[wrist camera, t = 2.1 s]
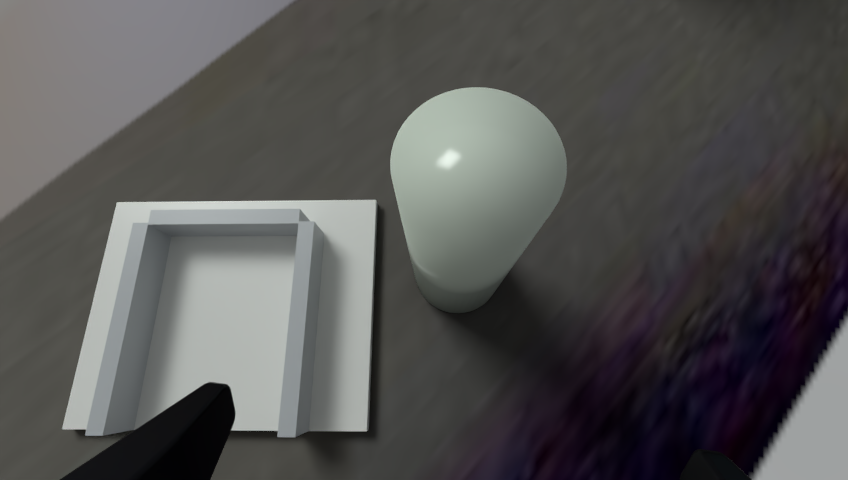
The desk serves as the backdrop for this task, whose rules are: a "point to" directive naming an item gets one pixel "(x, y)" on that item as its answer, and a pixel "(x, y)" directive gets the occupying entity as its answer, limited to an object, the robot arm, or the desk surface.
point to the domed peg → (473, 190)
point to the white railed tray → (232, 315)
